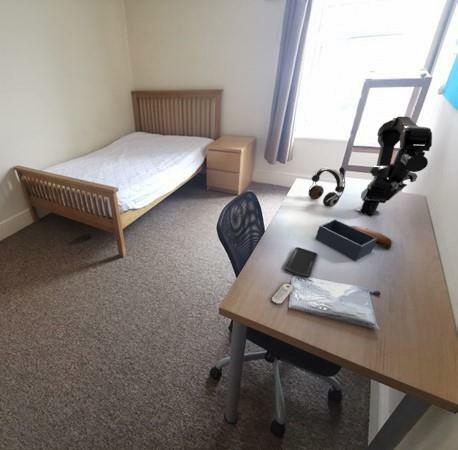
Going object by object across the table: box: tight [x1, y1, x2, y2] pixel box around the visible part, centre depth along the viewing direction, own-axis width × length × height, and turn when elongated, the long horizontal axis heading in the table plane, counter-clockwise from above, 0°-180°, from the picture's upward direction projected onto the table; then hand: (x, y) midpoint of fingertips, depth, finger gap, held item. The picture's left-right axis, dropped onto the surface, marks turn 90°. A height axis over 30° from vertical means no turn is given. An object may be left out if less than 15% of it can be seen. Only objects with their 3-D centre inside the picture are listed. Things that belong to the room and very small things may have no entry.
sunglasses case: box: [350, 225, 393, 249], centre depth 111 cm, size 18×7×7 cm
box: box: [315, 218, 378, 262], centre depth 106 cm, size 10×16×6 cm, turn 28°
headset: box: [308, 166, 346, 208], centre depth 133 cm, size 17×8×20 cm, turn 20°
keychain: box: [271, 283, 294, 305], centre depth 88 cm, size 10×1×3 cm
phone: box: [284, 246, 319, 279], centre depth 100 cm, size 8×1×15 cm
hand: (386, 200), depth 111 cm, fingers closed
